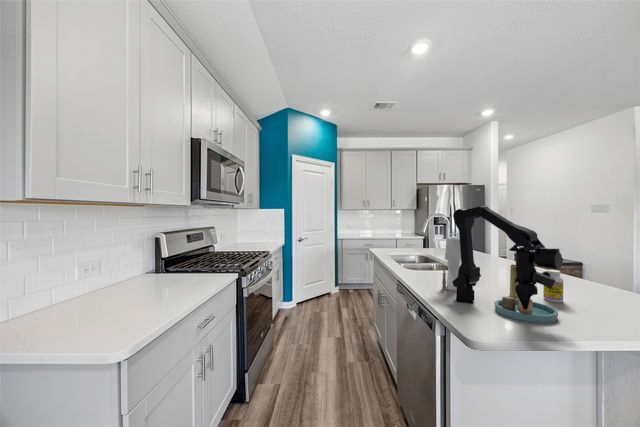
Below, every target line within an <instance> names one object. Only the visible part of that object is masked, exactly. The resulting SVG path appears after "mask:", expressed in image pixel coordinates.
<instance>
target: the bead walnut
mask: <svg viewBox="0 0 640 427" xmlns="http://www.w3.org/2000/svg"><path fill="white" fill-rule="evenodd" d="M501 298H502V299H501V300H502V307H503V308H505V309H508V310H511V311H514V312H515V299H516V298H512V297H510V296H502V297H501Z"/></svg>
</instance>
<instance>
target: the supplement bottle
mask: <svg viewBox="0 0 640 427" xmlns="http://www.w3.org/2000/svg"><path fill="white" fill-rule="evenodd" d="M546 272H548V273H550V277H553V278H554V279H555V280H556V281H555V283H554V285H553V287H552V289H551V288H548V287H547V286H544V285H543V300H545V301H547V302H551V303H562V302H564V279H563V277H561V271H560V270H559V269H546Z"/></svg>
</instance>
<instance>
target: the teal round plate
mask: <svg viewBox="0 0 640 427" xmlns="http://www.w3.org/2000/svg"><path fill="white" fill-rule="evenodd" d="M494 310H495V312H496V313H497V314H499V315H501V316H503V317H506V318H509V319H513V320H515V321H521V322H524V323H525V322H526V323H533V324H553V323H555V322H557V321H558V317H559V311H558V310H557V309H556V308H555V307H551V306H549V305H547V304H544V303H540V302H537V301H532V314H525V313H521V312H519V311H518V299H516V298H515V312H514V311H511V310H508V309H505V308H503V307H502V299H497V300H496V301H494Z"/></svg>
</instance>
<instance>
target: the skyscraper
mask: <svg viewBox="0 0 640 427" xmlns="http://www.w3.org/2000/svg"><path fill="white" fill-rule="evenodd" d="M451 235H456V236H451ZM445 244H446V245H445V252H446V260H447V261H446V262H447V266H448V268H447V273H446V266H445V264H444V263H443V268H442V269H443V271H442V272H443V273H442V288H441V290H444V291H448V292H455V293H456V287H454V286H453V282H452V281H453V280H455V279H456V278H457V277H458V270H459V267H460V265H461V252H460V239H459V232H452V233H450V234H448V235H447V236H446V241H445ZM446 277H447V279H446Z"/></svg>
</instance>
